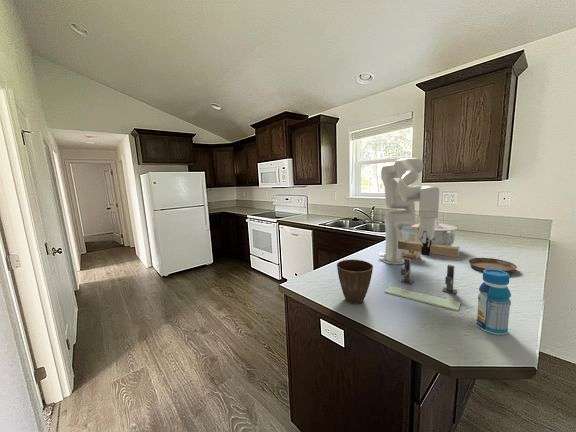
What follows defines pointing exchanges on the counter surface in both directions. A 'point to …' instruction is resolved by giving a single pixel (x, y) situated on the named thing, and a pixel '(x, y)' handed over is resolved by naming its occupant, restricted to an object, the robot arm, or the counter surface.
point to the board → (424, 298)
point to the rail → (433, 248)
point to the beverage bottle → (494, 302)
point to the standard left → (406, 272)
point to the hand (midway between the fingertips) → (426, 253)
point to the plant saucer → (492, 264)
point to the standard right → (449, 280)
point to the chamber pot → (443, 234)
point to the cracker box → (410, 239)
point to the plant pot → (354, 279)
